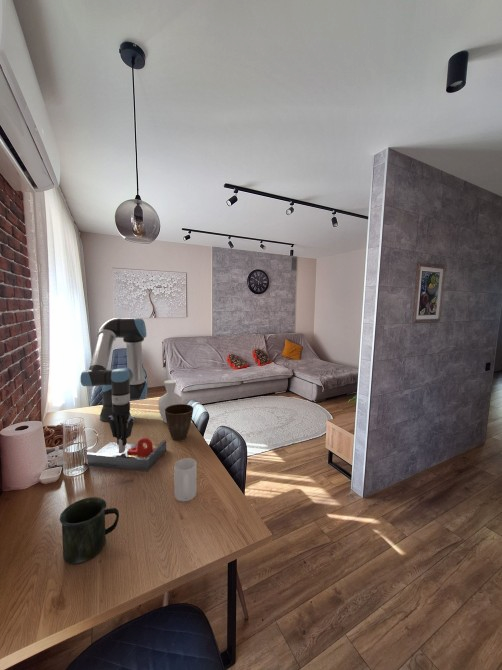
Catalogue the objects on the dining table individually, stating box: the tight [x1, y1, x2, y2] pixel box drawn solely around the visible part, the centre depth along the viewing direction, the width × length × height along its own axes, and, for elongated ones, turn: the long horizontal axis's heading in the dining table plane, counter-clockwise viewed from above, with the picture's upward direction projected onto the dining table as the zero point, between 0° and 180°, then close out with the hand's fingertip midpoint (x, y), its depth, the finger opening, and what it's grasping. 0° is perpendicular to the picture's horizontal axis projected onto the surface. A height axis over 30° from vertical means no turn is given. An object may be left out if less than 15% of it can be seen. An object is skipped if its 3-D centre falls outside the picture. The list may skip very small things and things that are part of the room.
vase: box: [158, 379, 183, 424], centre depth 167 cm, size 14×14×25 cm
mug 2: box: [173, 457, 198, 502], centre depth 99 cm, size 8×12×12 cm
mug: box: [59, 496, 120, 565], centre depth 78 cm, size 11×15×12 cm
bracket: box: [127, 437, 154, 456], centre depth 127 cm, size 12×4×8 cm, turn 82°
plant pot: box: [165, 403, 194, 441], centre depth 146 cm, size 15×15×16 cm
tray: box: [86, 439, 167, 472], centre depth 126 cm, size 18×30×5 cm, turn 82°
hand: (122, 451), depth 126 cm, fingers closed
